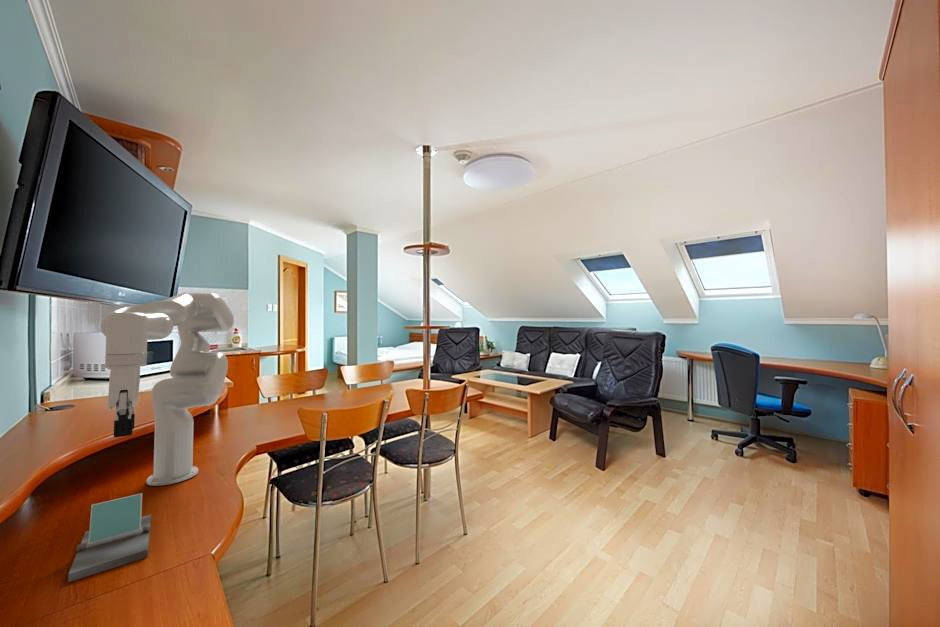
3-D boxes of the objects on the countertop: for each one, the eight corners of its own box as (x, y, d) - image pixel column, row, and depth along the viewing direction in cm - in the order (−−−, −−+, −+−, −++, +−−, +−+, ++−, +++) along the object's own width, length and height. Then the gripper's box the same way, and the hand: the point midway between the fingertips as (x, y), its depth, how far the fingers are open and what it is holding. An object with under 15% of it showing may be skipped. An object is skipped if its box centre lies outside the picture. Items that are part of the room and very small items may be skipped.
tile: (92, 504, 76) (91, 504, 75) (142, 493, 81) (142, 493, 81) (88, 543, 74) (88, 544, 73) (140, 529, 79) (140, 529, 78)
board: (84, 538, 79) (84, 526, 79) (151, 520, 86) (151, 509, 87) (67, 582, 66) (67, 567, 66) (148, 556, 73) (148, 543, 73)
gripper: (109, 359, 92) (107, 428, 92) (100, 364, 79) (97, 445, 79) (148, 357, 97) (146, 423, 97) (145, 362, 84) (142, 438, 84)
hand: (124, 432), depth 88 cm, fingers open, 5 cm apart
